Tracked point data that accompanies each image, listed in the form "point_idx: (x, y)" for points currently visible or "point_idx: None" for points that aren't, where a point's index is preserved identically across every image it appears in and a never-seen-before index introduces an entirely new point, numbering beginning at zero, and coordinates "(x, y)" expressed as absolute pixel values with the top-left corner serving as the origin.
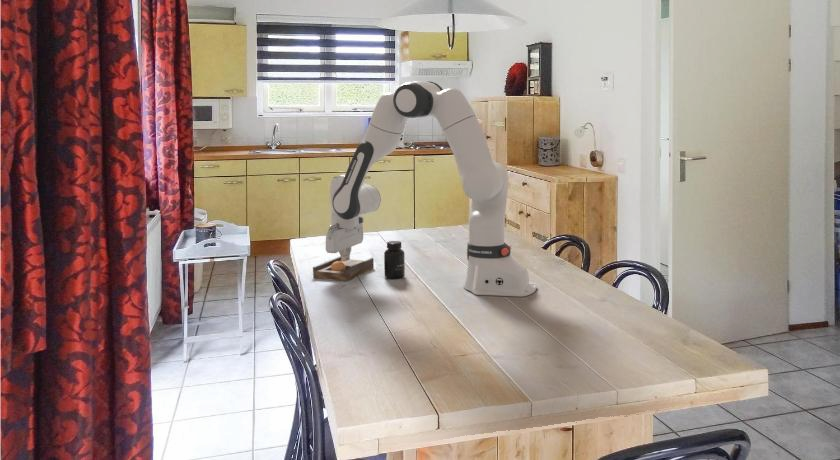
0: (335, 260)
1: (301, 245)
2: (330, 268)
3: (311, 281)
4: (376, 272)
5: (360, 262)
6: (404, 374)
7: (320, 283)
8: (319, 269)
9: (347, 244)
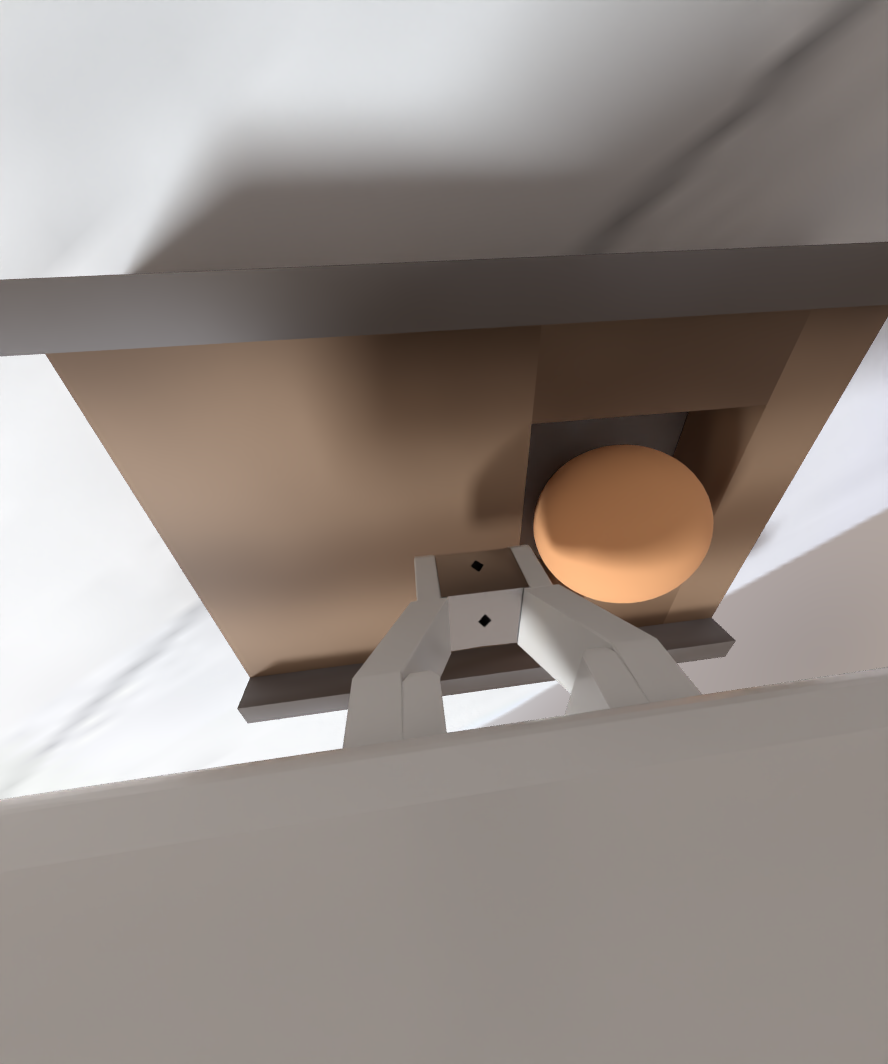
0: None
1: None
2: None
3: (755, 554)
4: (261, 54)
5: (247, 463)
6: None
7: (829, 471)
8: (663, 621)
9: (764, 851)
